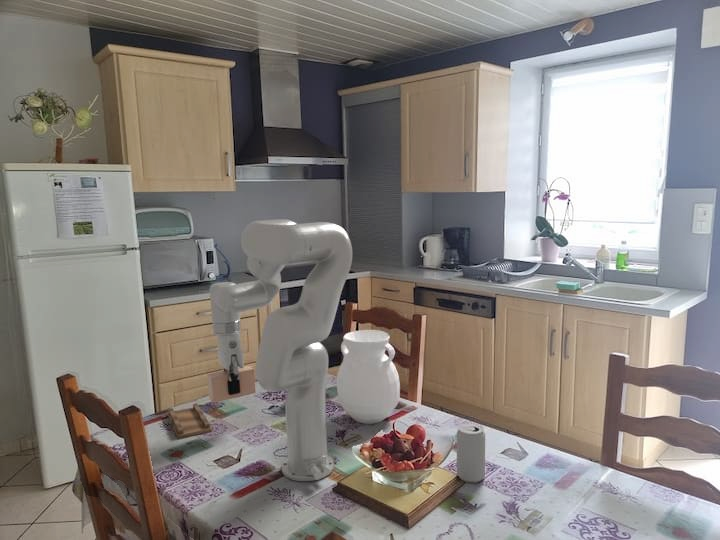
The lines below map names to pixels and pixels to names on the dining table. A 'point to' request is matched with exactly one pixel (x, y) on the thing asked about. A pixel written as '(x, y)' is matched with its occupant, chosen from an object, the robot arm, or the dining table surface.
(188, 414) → the rack
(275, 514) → the dining table surface
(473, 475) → the beverage can
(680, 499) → the dining table surface
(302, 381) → the robot arm
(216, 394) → the block
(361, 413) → the white vase
